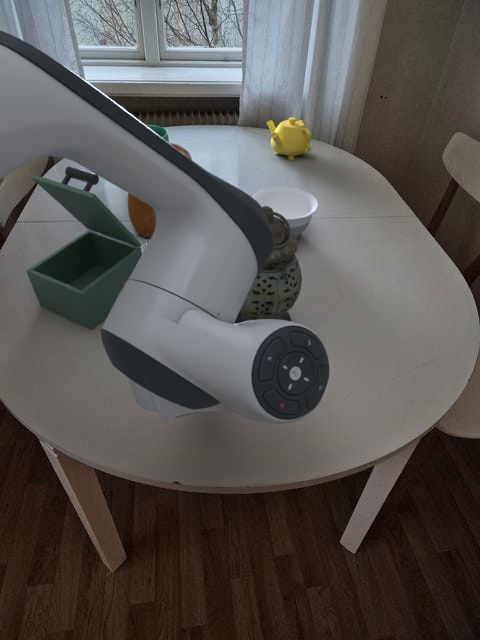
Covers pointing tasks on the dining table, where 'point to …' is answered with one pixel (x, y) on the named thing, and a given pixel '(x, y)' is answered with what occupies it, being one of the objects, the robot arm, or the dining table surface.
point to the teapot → (290, 137)
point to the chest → (84, 277)
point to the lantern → (275, 277)
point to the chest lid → (86, 204)
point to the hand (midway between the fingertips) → (200, 362)
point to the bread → (145, 210)
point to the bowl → (289, 205)
